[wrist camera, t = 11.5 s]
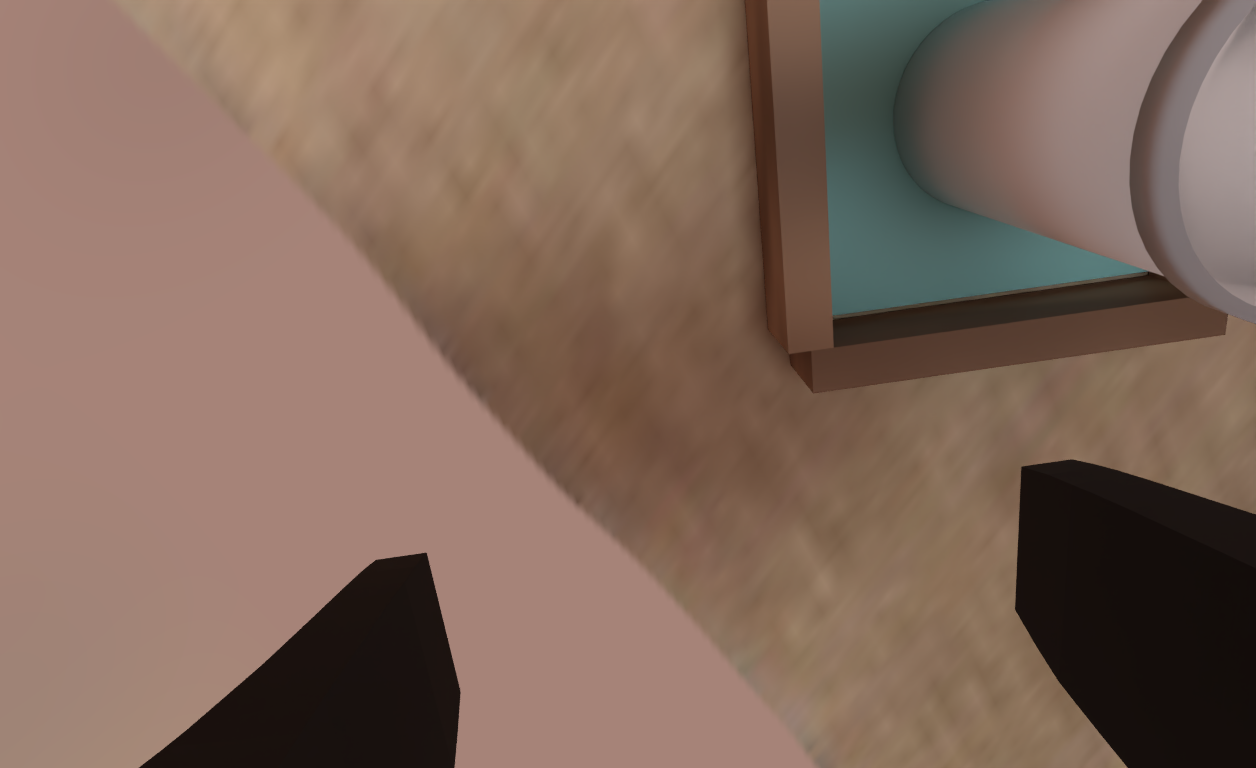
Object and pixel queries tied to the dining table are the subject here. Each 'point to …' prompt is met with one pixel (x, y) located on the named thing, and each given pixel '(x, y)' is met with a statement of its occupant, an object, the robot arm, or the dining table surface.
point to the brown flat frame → (907, 223)
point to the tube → (1098, 131)
